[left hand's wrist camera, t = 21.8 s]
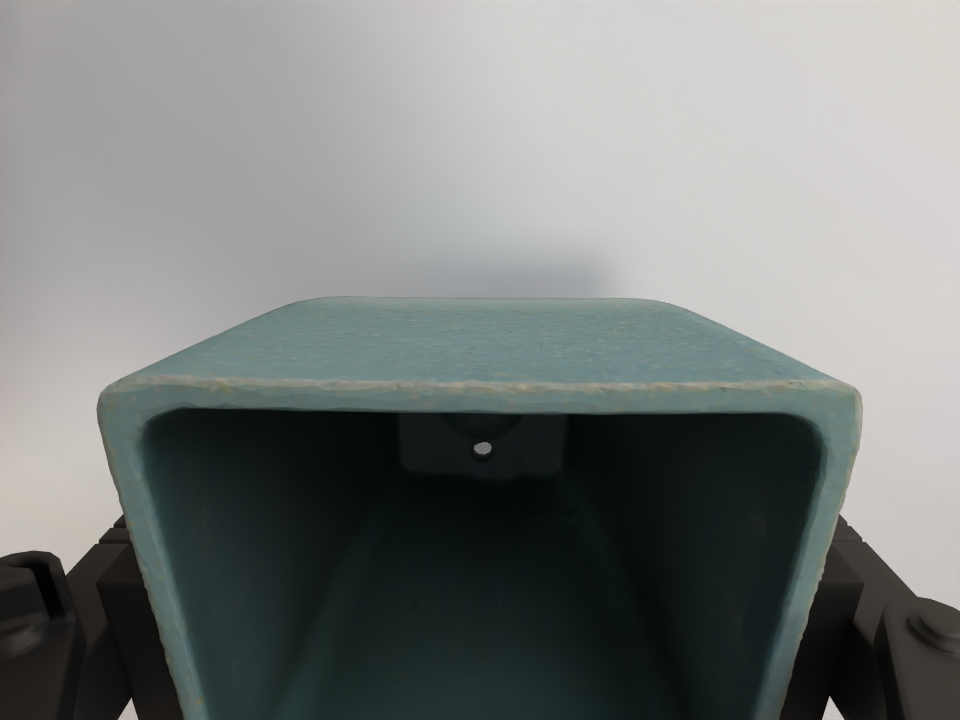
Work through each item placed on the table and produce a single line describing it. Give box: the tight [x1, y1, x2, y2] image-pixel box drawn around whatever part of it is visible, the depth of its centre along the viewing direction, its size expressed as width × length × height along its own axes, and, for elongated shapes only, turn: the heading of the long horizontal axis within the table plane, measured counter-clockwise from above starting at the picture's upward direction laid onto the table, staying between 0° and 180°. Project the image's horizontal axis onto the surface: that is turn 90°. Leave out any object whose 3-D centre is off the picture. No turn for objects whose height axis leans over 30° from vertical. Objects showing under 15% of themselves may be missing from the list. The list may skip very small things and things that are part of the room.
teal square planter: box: [97, 296, 863, 720], centre depth 12 cm, size 9×9×9 cm
